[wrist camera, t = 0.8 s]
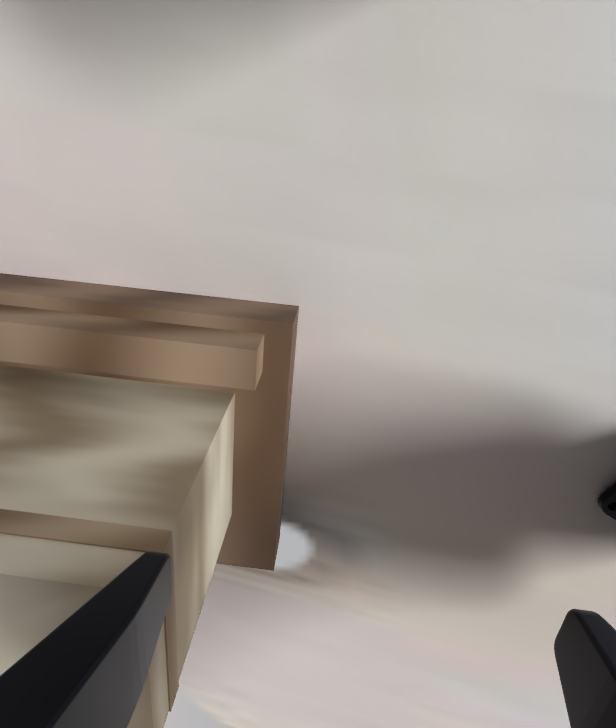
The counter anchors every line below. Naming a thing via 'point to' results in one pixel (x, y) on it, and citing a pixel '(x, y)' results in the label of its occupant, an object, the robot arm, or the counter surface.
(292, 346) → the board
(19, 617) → the tea box
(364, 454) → the counter surface
